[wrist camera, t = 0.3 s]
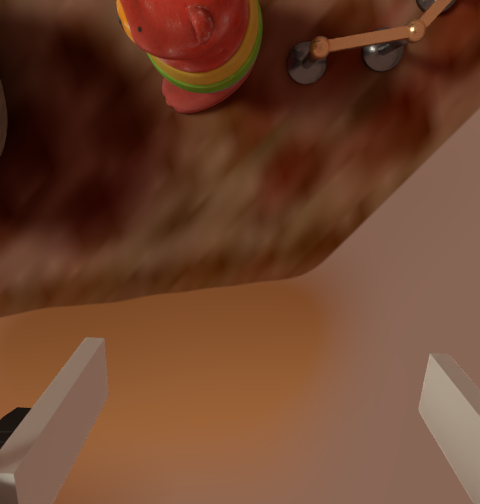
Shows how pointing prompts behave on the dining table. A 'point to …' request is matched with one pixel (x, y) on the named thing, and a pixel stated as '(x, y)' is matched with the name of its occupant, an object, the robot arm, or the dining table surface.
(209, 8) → the stacking bear
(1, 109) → the bowl
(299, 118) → the dining table surface
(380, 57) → the miniature post railing
